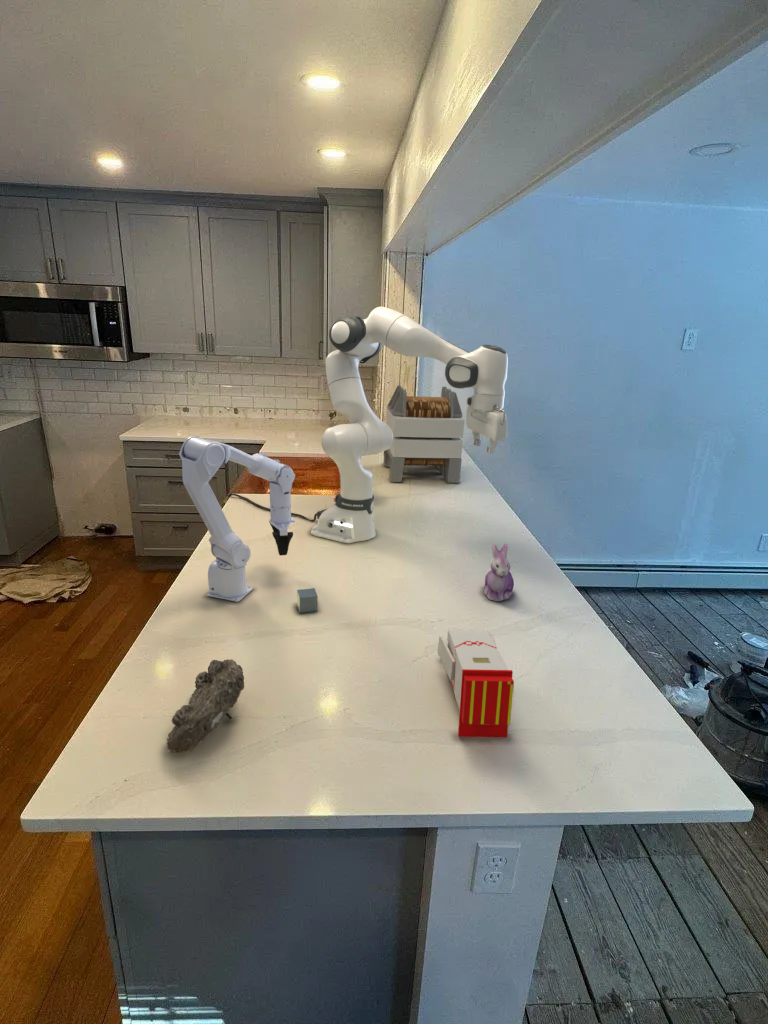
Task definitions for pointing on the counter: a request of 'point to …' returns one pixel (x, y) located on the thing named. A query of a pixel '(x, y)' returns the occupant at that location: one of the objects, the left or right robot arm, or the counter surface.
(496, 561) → the figurine
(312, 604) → the block
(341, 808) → the counter surface
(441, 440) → the transformer
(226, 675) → the fossil
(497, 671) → the toy
